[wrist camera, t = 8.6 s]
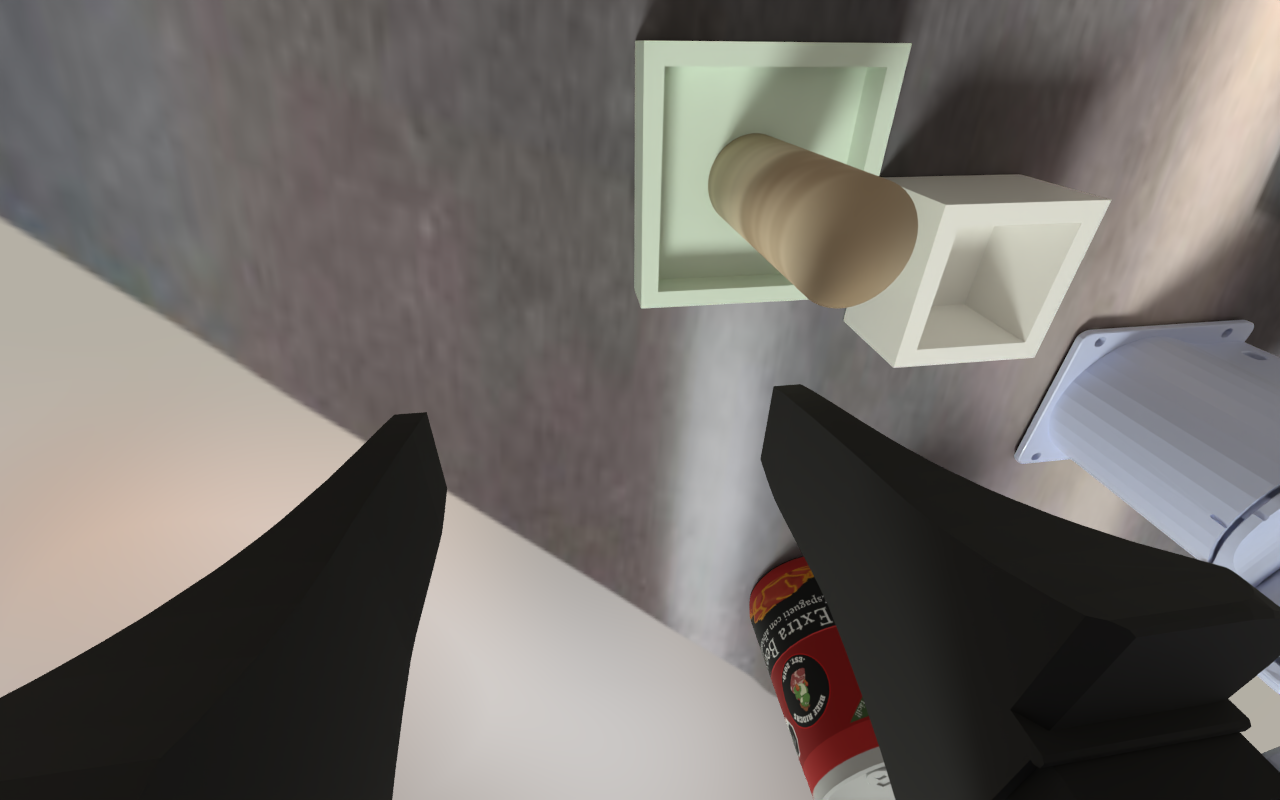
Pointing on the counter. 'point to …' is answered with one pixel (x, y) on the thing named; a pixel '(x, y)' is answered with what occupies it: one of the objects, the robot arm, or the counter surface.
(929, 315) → the white open box
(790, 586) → the canned food
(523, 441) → the counter surface
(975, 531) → the robot arm
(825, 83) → the tray
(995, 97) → the counter surface
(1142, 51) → the counter surface
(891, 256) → the dowel
